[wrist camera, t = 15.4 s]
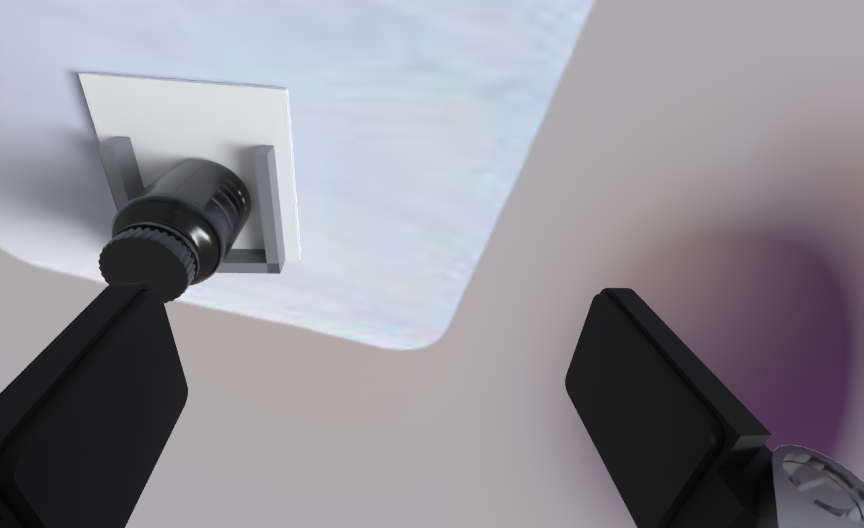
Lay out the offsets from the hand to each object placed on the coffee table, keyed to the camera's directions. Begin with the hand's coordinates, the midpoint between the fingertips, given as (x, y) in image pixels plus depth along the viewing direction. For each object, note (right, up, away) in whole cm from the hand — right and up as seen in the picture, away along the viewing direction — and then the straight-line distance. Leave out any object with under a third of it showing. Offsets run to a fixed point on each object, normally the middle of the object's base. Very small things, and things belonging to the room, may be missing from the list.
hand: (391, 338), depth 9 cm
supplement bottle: (-18, +7, +25) cm, 32 cm away
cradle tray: (-18, +9, +25) cm, 32 cm away
